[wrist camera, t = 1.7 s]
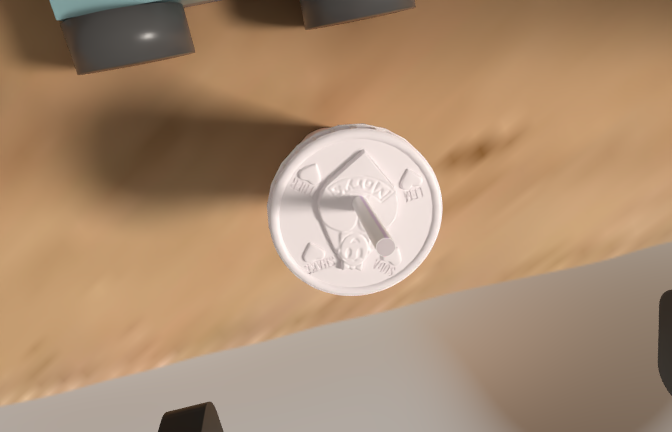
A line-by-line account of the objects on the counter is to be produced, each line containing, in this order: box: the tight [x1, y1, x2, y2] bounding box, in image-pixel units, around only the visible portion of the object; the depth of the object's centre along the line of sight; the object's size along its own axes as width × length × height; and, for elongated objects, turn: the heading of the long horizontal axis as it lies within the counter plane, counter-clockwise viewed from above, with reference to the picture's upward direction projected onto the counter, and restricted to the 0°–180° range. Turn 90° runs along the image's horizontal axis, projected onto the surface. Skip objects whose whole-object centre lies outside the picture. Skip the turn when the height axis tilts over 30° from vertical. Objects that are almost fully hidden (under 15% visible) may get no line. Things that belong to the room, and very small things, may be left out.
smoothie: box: [267, 124, 442, 296], centre depth 20 cm, size 6×6×14 cm
